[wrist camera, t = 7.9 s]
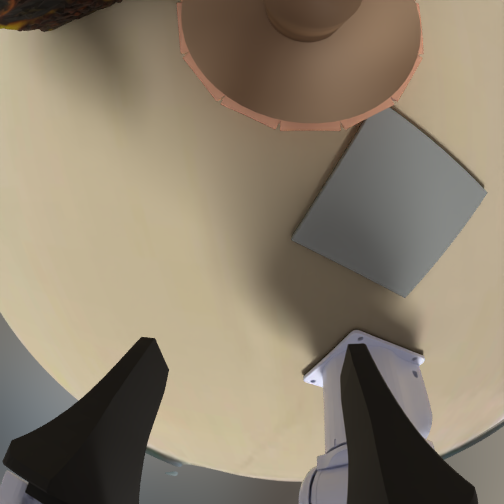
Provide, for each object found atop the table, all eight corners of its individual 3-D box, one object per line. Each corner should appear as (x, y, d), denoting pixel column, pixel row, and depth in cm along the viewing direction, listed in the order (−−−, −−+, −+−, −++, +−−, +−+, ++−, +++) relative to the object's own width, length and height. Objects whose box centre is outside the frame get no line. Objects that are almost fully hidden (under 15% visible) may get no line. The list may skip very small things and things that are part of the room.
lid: (438, -5, 8) (489, -25, 4) (358, 157, 13) (388, 193, 9) (240, -88, 6) (222, -136, 2) (157, 76, 12) (104, 79, 8)
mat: (484, 190, 15) (487, 192, 15) (403, 294, 21) (405, 298, 20) (376, 99, 14) (378, 100, 13) (291, 237, 19) (291, 240, 19)
